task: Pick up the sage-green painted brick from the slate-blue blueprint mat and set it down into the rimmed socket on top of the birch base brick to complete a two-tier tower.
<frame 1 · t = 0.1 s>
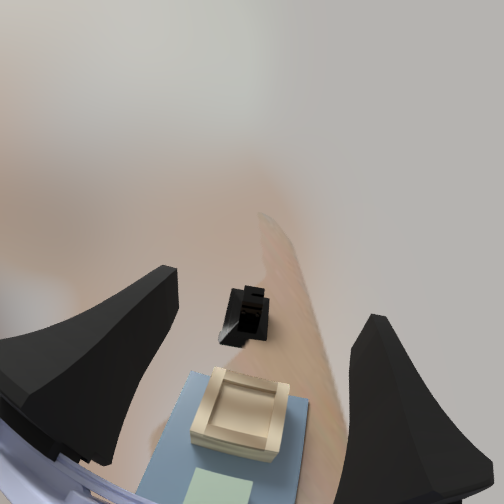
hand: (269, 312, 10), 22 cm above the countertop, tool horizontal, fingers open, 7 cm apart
blueprint mat: (230, 455, 22), on the countertop
base brick: (239, 422, 26), resting on blueprint mat
black boxy piece: (248, 318, 42), on the countertop
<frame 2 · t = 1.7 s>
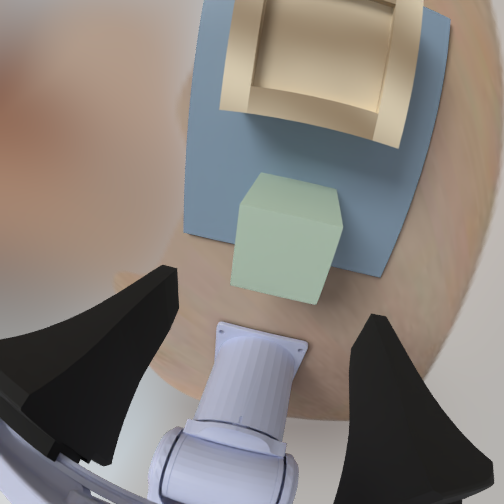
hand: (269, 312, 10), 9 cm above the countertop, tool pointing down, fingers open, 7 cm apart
blueprint mat: (311, 117, 14), on the countertop
green brick: (291, 214, 17), resting on blueprint mat
base brick: (322, 50, 12), resting on blueprint mat
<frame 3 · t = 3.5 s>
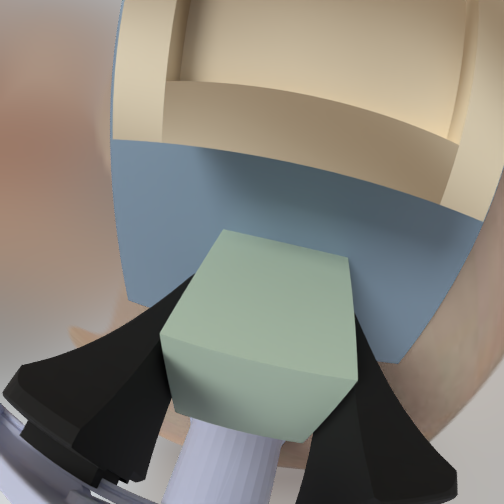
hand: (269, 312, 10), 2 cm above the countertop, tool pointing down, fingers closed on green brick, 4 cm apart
blueprint mat: (308, 134, 8), on the countertop
green brick: (274, 291, 11), resting on blueprint mat, touching gripper
base brick: (329, 13, 6), resting on blueprint mat
when the fingers open (6 cm above the countertop, at t = 6.5 s): green brick drops 1 cm, resting on base brick.
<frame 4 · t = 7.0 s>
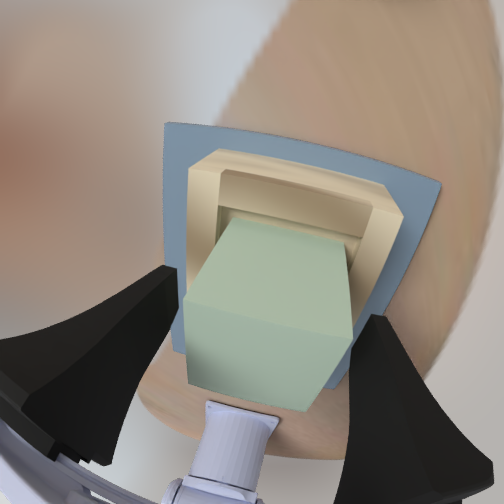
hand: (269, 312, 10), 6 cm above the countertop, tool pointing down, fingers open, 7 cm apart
blueprint mat: (274, 290, 17), on the countertop
green brick: (278, 274, 12), point 3 cm above the countertop, touching base brick
base brick: (286, 237, 15), resting on blueprint mat, touching green brick
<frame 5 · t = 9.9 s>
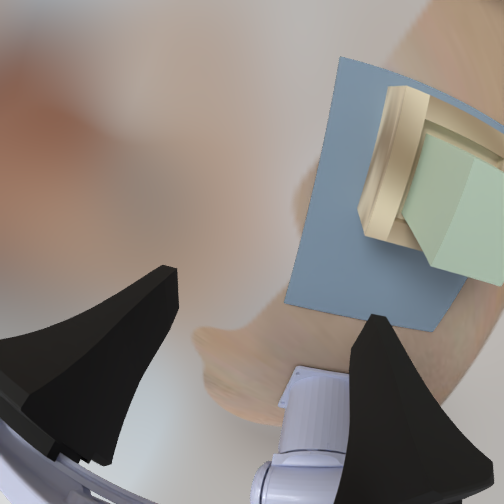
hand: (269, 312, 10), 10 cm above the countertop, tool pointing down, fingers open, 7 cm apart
blueprint mat: (409, 221, 17), on the countertop
green brick: (448, 187, 12), point 3 cm above the countertop, touching base brick
base brick: (430, 168, 14), resting on blueprint mat, touching green brick
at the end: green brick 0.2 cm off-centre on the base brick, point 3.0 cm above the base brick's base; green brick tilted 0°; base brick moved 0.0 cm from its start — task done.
